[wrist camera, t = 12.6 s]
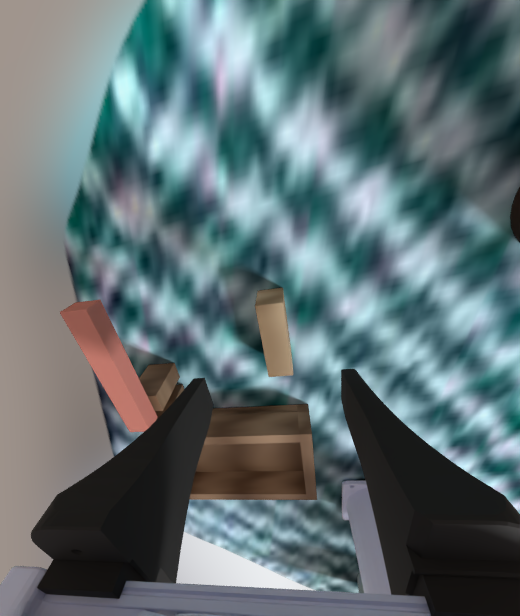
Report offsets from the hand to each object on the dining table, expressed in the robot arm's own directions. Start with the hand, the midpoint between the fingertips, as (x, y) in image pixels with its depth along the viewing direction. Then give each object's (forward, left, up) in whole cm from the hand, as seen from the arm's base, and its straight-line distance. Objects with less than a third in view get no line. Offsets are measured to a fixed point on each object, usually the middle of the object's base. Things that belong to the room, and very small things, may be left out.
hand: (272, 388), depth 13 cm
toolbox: (+5, +11, -7) cm, 14 cm away
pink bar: (+10, 0, -3) cm, 11 cm away
